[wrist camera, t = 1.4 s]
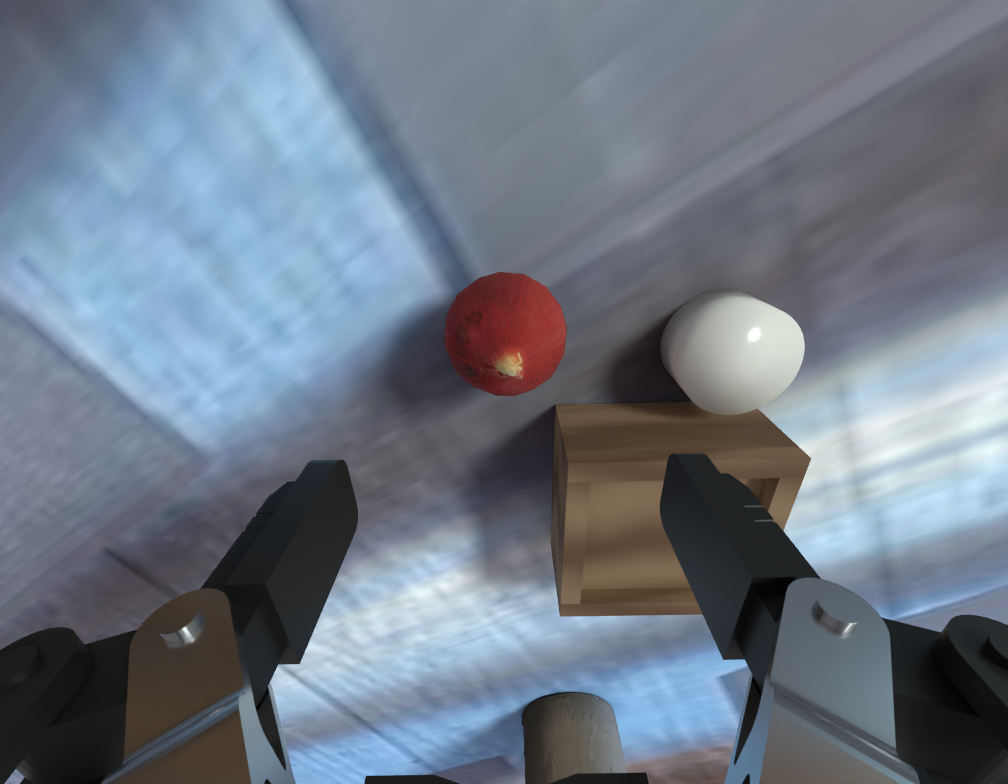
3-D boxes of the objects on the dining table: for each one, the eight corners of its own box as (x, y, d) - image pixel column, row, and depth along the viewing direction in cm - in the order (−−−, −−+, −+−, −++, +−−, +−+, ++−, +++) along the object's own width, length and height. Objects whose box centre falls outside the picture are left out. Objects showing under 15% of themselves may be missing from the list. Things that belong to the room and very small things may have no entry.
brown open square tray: (555, 404, 26) (568, 463, 21) (748, 400, 26) (811, 458, 21) (550, 542, 32) (559, 616, 26) (709, 539, 31) (751, 613, 26)
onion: (474, 371, 25) (462, 448, 18) (437, 279, 23) (406, 327, 15) (568, 343, 24) (594, 412, 17) (541, 244, 22) (558, 278, 15)
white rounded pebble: (668, 289, 23) (693, 307, 20) (778, 286, 23) (821, 304, 20) (652, 386, 26) (673, 416, 23) (750, 384, 26) (784, 413, 23)
